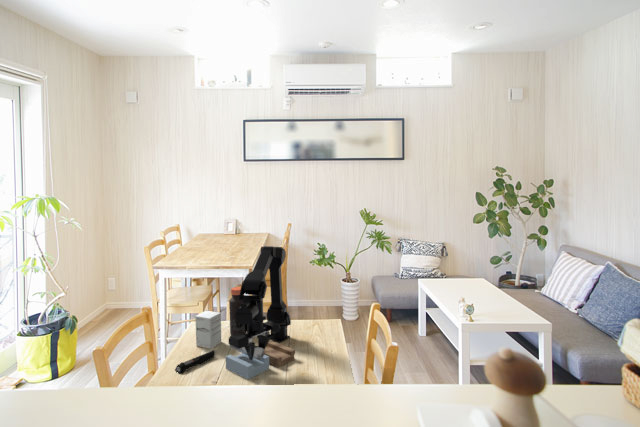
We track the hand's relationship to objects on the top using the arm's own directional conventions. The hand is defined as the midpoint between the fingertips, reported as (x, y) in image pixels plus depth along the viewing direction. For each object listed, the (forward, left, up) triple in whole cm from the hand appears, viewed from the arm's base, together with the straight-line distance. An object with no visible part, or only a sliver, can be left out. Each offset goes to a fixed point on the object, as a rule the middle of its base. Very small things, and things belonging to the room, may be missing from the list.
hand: (255, 357), depth 139 cm
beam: (-11, -4, -6) cm, 13 cm away
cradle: (0, -4, -6) cm, 7 cm away
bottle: (-17, -31, -6) cm, 36 cm away
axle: (0, -5, 0) cm, 5 cm away
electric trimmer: (+10, -22, -6) cm, 25 cm away
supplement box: (-3, -32, -6) cm, 33 cm away
